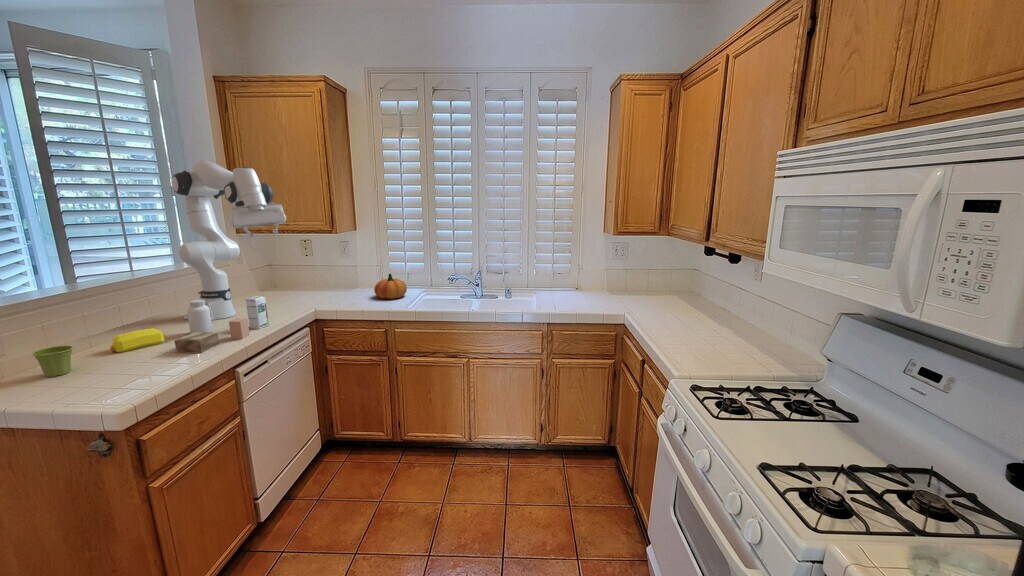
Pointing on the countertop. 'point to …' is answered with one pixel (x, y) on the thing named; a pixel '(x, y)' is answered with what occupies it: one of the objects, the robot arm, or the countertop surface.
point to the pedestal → (196, 342)
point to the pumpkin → (390, 288)
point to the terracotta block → (239, 328)
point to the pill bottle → (199, 317)
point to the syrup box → (257, 312)
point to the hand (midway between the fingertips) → (264, 235)
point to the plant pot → (54, 360)
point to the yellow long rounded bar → (137, 340)
